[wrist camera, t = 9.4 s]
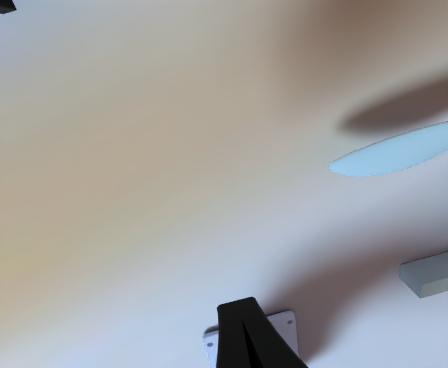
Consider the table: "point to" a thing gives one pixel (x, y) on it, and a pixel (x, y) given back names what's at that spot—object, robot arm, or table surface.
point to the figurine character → (6, 6)
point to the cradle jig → (426, 275)
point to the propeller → (395, 152)
